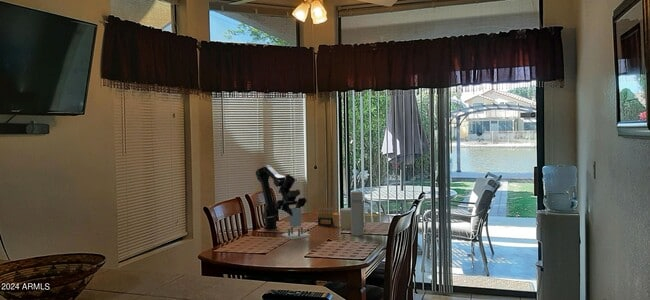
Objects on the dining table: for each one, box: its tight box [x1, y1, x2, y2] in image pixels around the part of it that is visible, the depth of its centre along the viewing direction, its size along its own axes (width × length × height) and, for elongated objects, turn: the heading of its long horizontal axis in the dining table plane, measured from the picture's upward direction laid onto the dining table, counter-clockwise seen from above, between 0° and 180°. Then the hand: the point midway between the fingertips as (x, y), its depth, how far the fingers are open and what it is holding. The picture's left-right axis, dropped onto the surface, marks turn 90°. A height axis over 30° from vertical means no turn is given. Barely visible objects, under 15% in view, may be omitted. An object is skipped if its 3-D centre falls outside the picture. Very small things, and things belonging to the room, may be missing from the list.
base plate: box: [281, 226, 311, 240], centre depth 279 cm, size 12×12×5 cm
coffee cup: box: [339, 207, 351, 230], centre depth 299 cm, size 9×9×12 cm
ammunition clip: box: [317, 206, 335, 227], centre depth 310 cm, size 11×2×12 cm, turn 69°
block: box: [288, 207, 302, 228], centre depth 278 cm, size 5×5×10 cm
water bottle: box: [350, 190, 367, 237], centre depth 277 cm, size 9×8×25 cm
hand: (296, 214), depth 277 cm, fingers closed on block, 5 cm apart
